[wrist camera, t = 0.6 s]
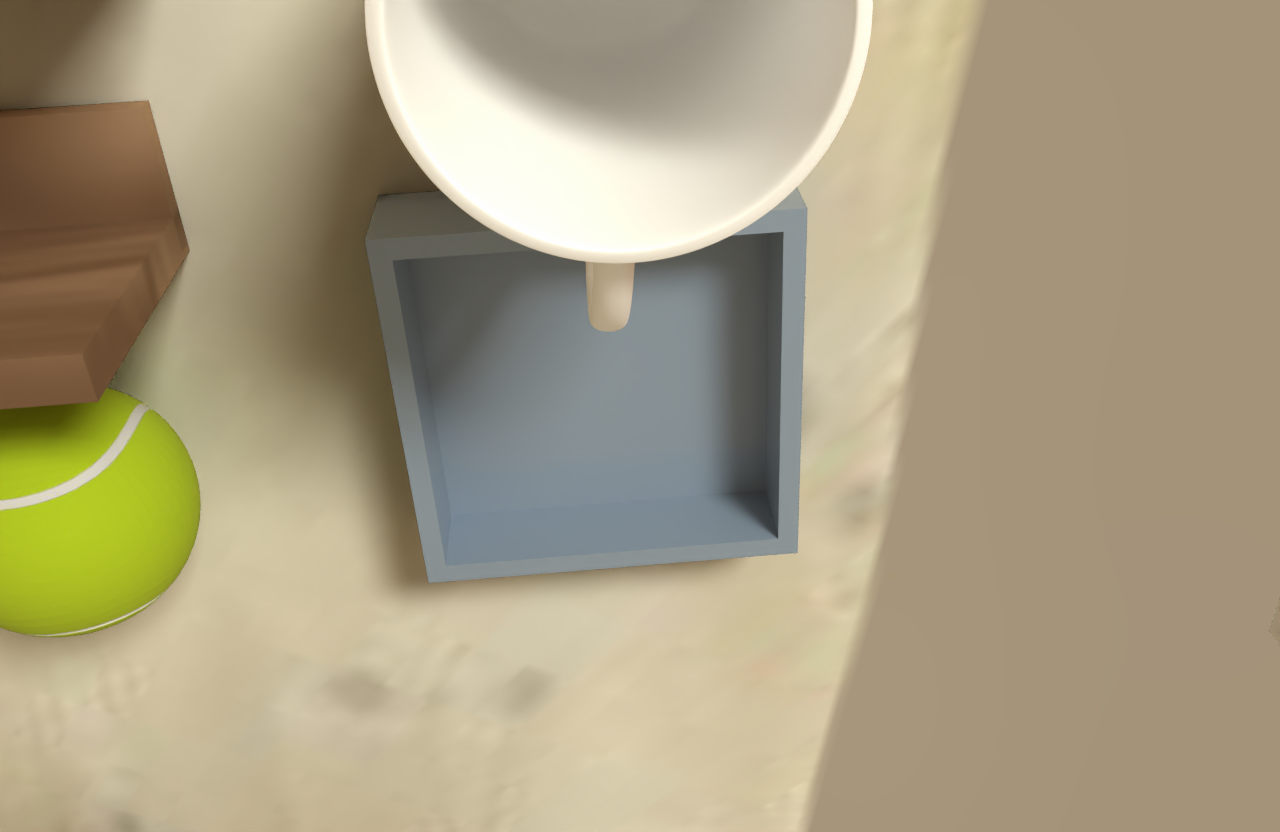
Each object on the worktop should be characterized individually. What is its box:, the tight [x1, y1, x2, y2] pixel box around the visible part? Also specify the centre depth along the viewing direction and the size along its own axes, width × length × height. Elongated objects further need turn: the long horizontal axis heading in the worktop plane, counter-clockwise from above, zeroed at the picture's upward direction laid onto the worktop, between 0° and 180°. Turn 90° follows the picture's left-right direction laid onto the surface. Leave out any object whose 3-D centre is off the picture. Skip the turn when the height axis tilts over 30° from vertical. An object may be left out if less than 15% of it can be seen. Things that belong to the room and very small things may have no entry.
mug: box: [364, 0, 873, 332], centre depth 25 cm, size 12×8×12 cm
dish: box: [365, 187, 807, 583], centre depth 34 cm, size 11×11×3 cm
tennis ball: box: [0, 388, 200, 637], centre depth 33 cm, size 7×7×7 cm
